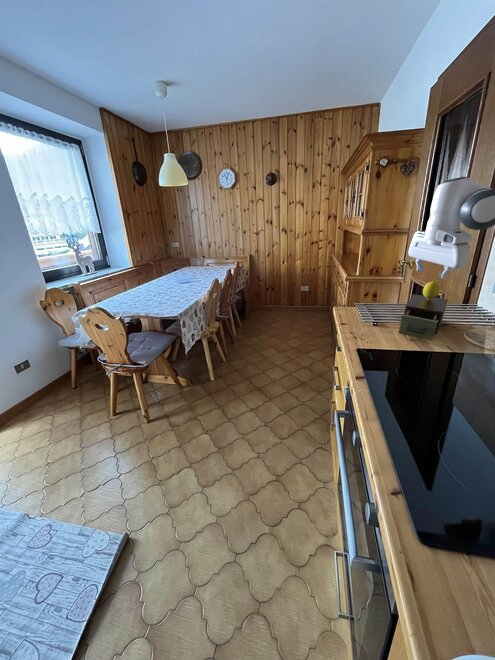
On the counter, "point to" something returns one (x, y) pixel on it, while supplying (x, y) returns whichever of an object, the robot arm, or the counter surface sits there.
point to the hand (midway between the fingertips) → (430, 274)
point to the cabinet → (428, 306)
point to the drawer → (419, 324)
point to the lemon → (431, 290)
